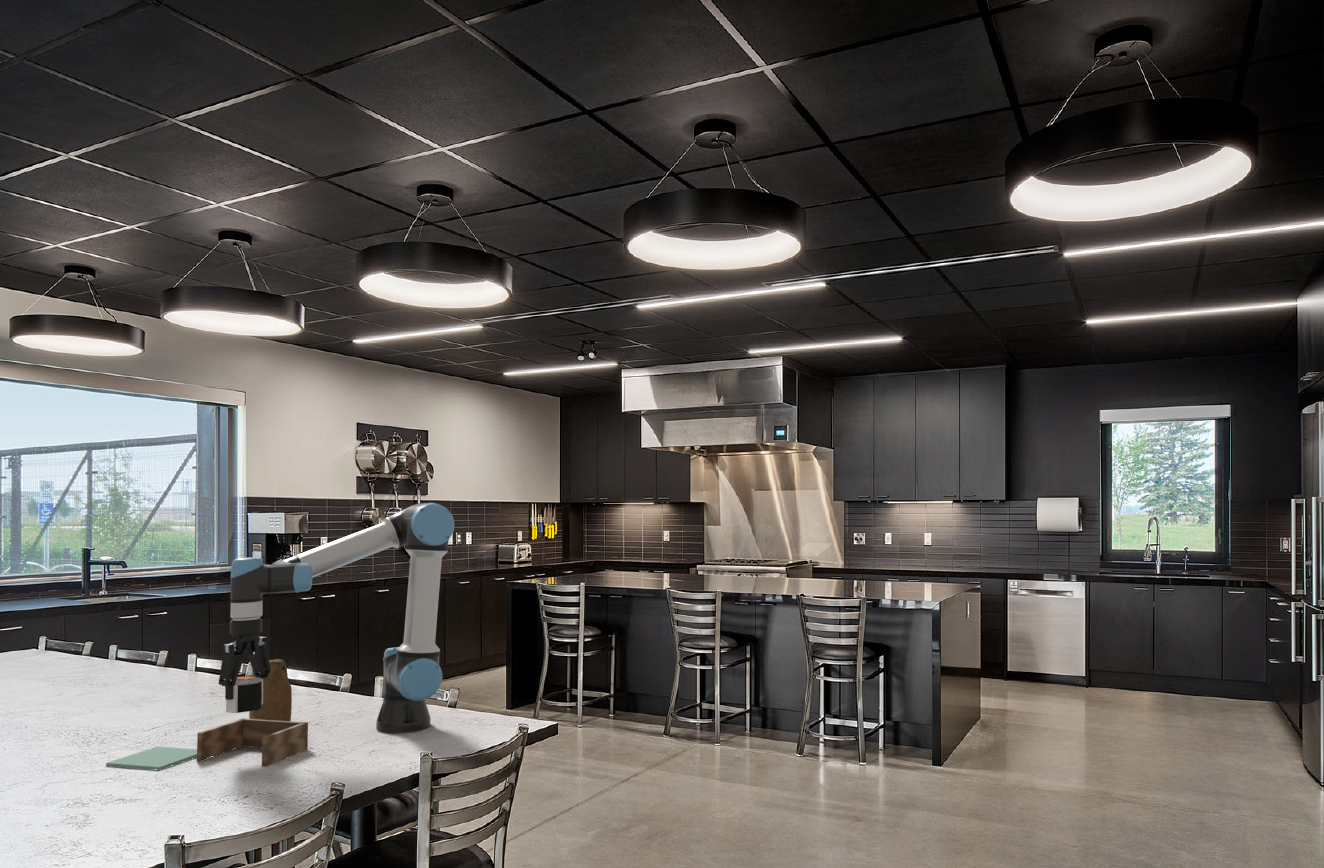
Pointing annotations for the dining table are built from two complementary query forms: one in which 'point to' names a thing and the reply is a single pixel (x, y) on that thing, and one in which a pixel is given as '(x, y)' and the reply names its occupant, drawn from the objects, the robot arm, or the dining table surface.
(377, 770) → the dining table surface
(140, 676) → the dining table surface
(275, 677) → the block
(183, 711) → the dining table surface
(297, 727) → the frame
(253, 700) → the sushi
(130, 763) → the mat
